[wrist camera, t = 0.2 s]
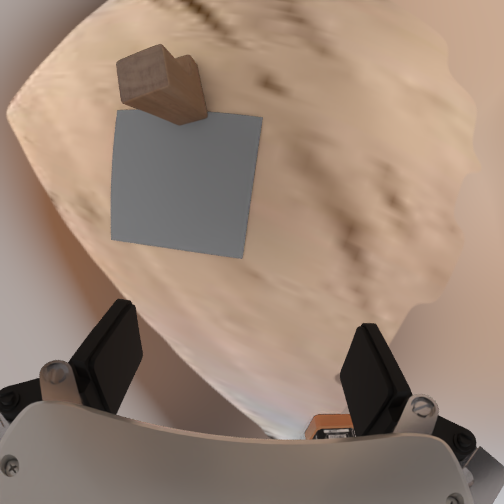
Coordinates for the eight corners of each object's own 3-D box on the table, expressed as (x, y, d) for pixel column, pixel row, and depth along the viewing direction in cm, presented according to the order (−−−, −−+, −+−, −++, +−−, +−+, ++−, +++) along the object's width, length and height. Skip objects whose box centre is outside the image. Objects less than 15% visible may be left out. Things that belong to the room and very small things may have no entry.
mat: (118, 110, 35) (117, 110, 35) (262, 117, 36) (262, 117, 35) (112, 238, 43) (111, 239, 42) (242, 257, 43) (242, 258, 43)
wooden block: (167, 72, 33) (111, 24, 16) (197, 63, 33) (156, 5, 15) (178, 126, 36) (119, 104, 19) (208, 118, 35) (169, 85, 18)
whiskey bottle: (303, 434, 61) (313, 540, 31) (315, 414, 57) (331, 533, 27) (339, 433, 61) (358, 533, 31) (353, 413, 58) (380, 523, 28)
